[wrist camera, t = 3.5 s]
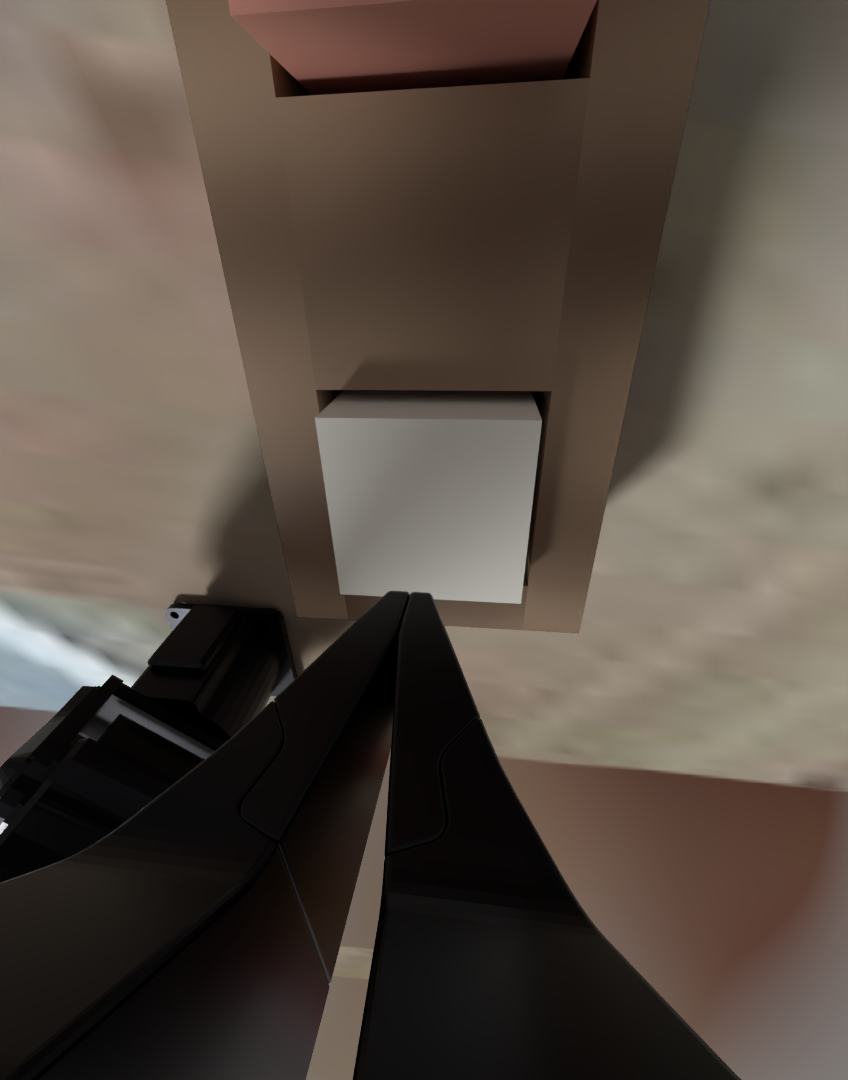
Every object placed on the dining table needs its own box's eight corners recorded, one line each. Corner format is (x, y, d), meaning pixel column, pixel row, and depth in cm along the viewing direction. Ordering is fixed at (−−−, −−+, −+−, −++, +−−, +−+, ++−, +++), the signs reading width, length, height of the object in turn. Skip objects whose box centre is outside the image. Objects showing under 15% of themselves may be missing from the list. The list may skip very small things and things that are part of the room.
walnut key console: (555, 541, 21) (579, 633, 16) (340, 533, 22) (297, 616, 17) (693, -374, 9) (945, -1130, 4) (229, -302, 10) (-13, -838, 5)
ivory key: (513, 535, 17) (521, 603, 14) (367, 529, 18) (340, 594, 14) (527, 382, 14) (542, 420, 11) (353, 381, 15) (315, 417, 11)
